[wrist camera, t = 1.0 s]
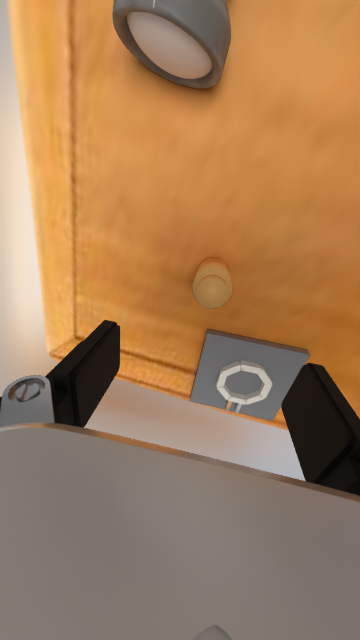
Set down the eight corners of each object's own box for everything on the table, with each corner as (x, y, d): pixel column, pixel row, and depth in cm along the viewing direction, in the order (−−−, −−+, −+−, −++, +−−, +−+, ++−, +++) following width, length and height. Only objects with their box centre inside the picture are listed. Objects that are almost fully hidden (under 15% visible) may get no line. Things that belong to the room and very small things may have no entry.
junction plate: (306, 349, 29) (313, 359, 27) (270, 414, 36) (273, 426, 34) (207, 328, 30) (206, 337, 28) (190, 395, 37) (189, 406, 35)
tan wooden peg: (233, 260, 25) (238, 278, 18) (225, 291, 27) (227, 317, 20) (200, 254, 25) (194, 269, 19) (194, 285, 27) (187, 309, 21)
